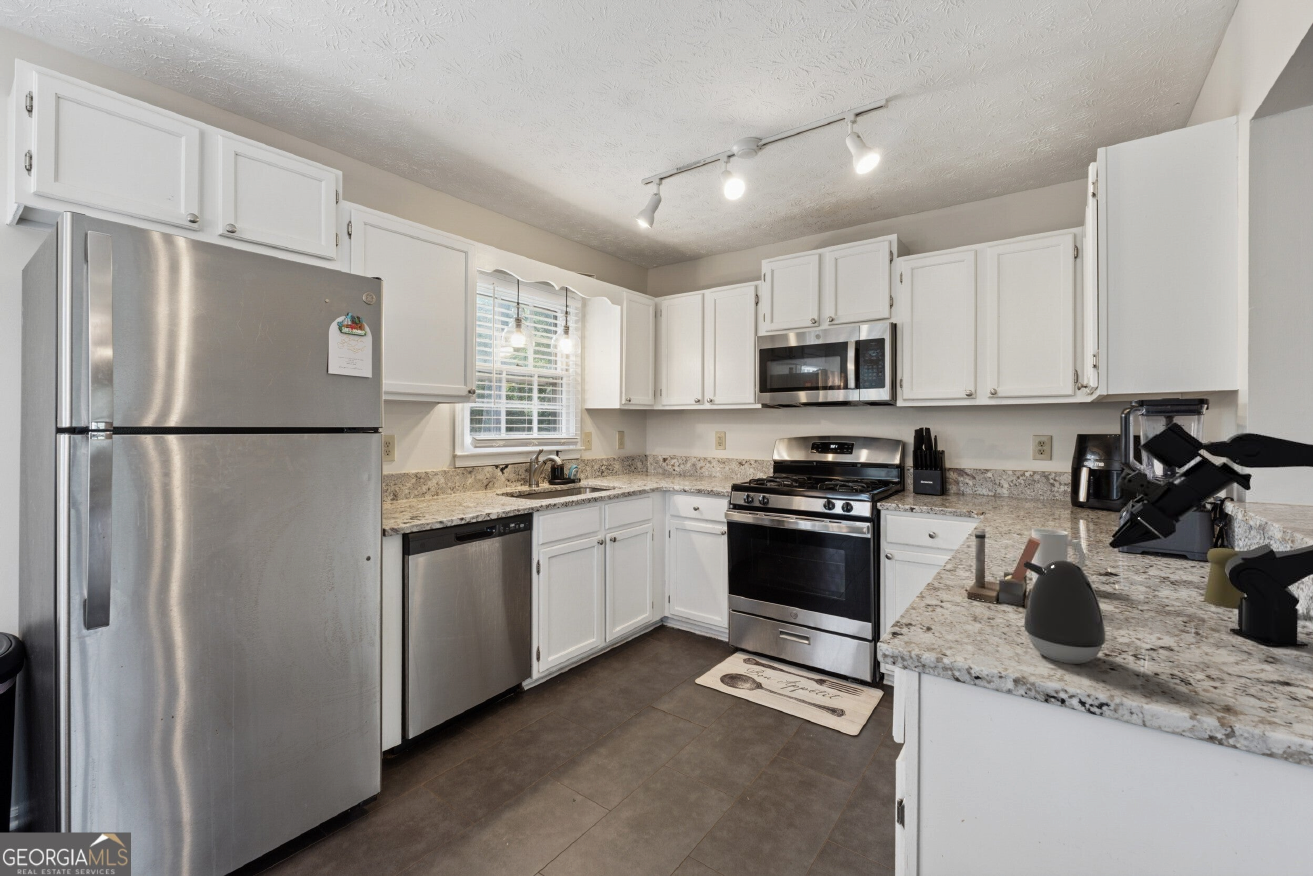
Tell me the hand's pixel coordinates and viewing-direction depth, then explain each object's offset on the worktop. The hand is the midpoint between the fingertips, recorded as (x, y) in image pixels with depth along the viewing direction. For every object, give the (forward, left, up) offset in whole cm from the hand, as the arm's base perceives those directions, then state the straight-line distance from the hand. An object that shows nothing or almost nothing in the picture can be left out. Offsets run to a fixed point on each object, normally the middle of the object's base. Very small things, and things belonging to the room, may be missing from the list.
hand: (1112, 542), depth 106 cm
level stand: (+8, +14, -14) cm, 21 cm away
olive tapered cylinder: (+7, -26, -14) cm, 30 cm away
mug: (+18, -1, -14) cm, 23 cm away
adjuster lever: (+8, +14, -13) cm, 21 cm away
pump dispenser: (-21, +22, -14) cm, 34 cm away
